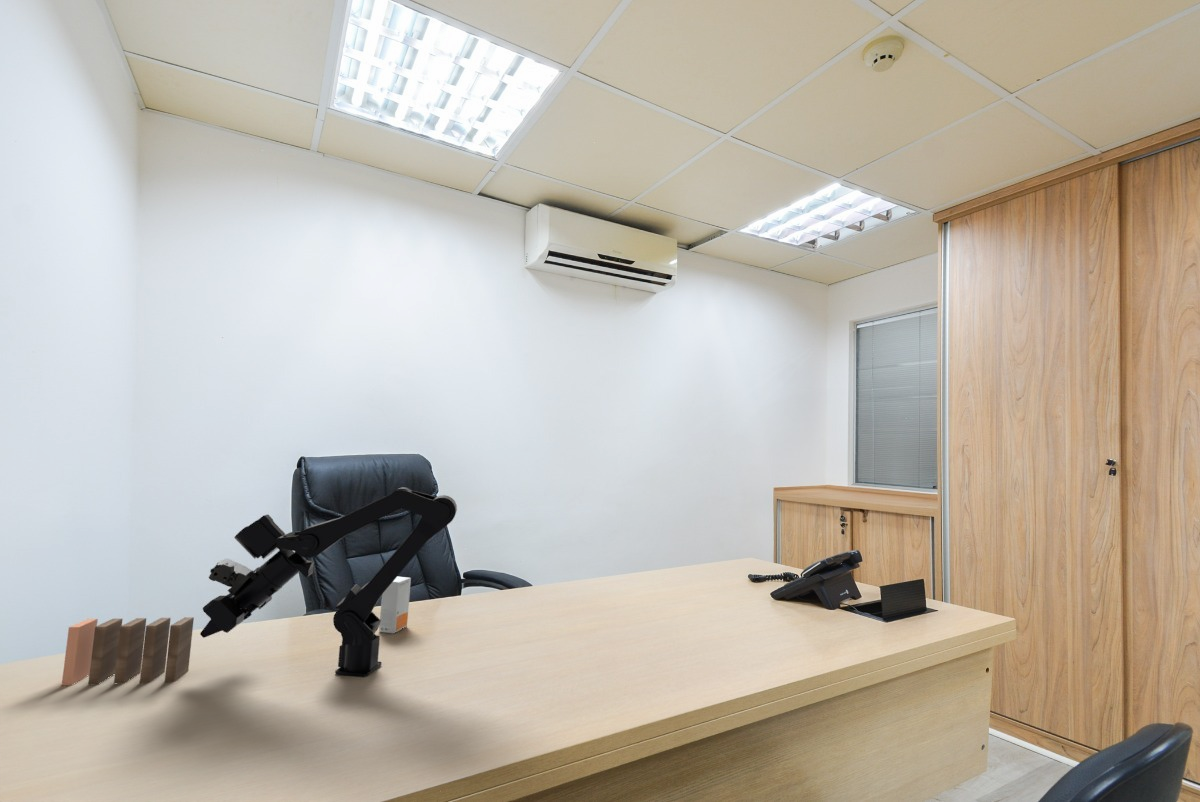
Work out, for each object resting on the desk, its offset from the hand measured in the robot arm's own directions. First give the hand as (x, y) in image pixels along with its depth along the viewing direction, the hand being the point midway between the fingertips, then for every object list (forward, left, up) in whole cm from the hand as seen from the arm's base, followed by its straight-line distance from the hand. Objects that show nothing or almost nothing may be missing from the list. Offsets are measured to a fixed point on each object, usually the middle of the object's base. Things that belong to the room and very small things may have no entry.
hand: (202, 635), depth 107 cm
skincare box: (-22, -34, -7) cm, 41 cm away
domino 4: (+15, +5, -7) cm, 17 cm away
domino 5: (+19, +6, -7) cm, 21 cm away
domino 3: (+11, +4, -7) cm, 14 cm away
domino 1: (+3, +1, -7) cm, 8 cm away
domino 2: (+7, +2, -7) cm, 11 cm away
